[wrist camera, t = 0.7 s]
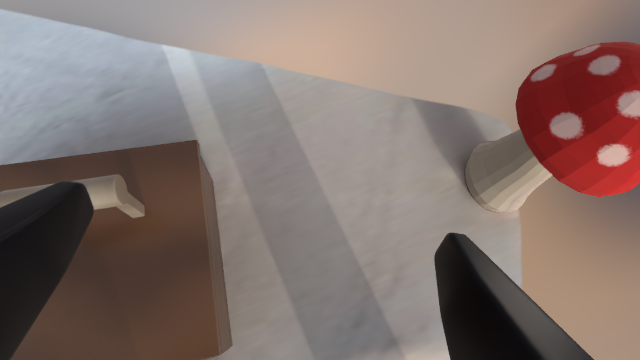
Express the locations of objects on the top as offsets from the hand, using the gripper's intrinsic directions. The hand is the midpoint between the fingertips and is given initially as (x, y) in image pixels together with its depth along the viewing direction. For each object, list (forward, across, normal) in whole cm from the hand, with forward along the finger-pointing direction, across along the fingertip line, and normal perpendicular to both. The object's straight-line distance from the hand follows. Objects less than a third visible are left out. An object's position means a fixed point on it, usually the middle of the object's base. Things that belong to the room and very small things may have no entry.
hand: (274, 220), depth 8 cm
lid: (+6, +10, +11) cm, 16 cm away
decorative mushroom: (+18, -19, +10) cm, 28 cm away
